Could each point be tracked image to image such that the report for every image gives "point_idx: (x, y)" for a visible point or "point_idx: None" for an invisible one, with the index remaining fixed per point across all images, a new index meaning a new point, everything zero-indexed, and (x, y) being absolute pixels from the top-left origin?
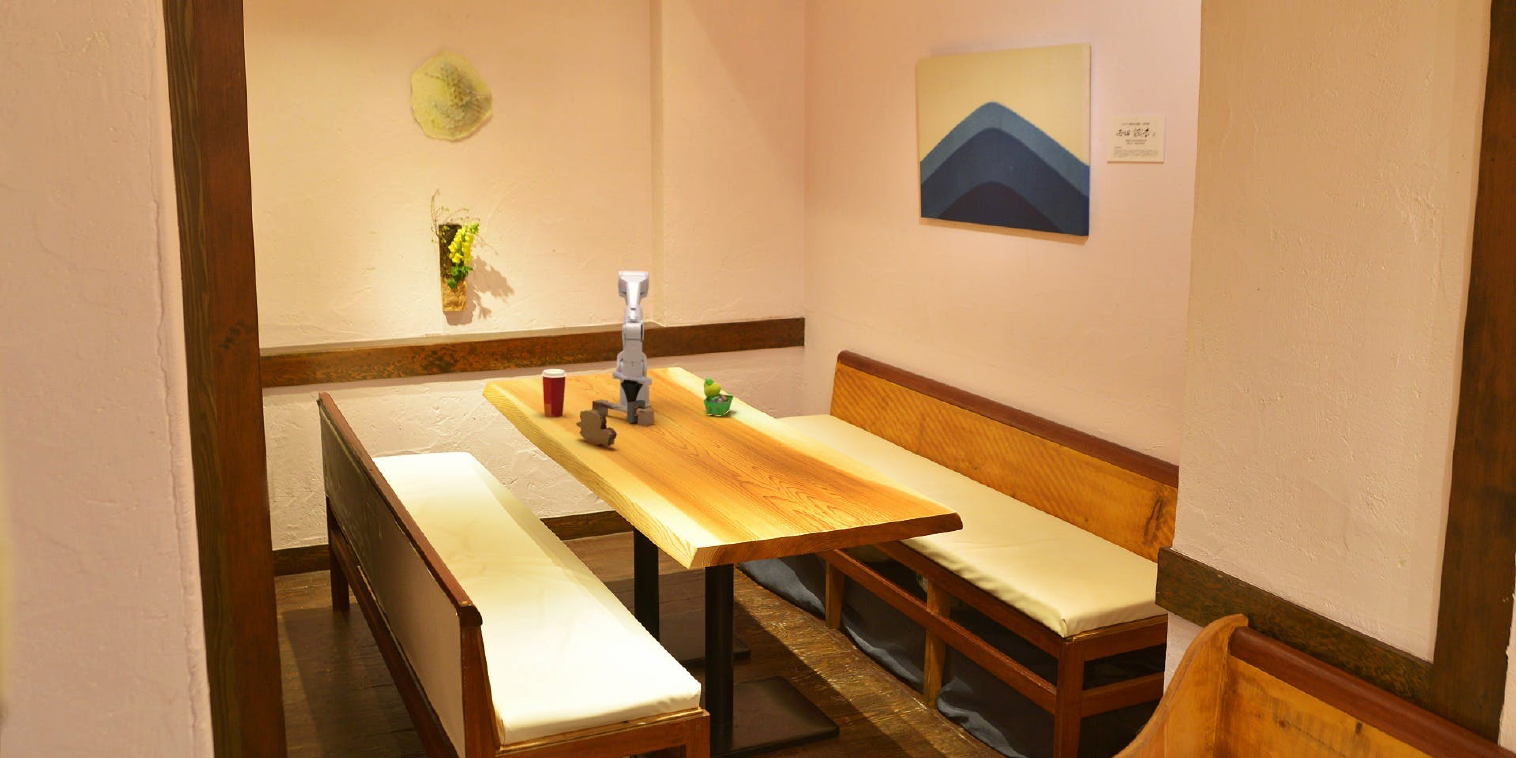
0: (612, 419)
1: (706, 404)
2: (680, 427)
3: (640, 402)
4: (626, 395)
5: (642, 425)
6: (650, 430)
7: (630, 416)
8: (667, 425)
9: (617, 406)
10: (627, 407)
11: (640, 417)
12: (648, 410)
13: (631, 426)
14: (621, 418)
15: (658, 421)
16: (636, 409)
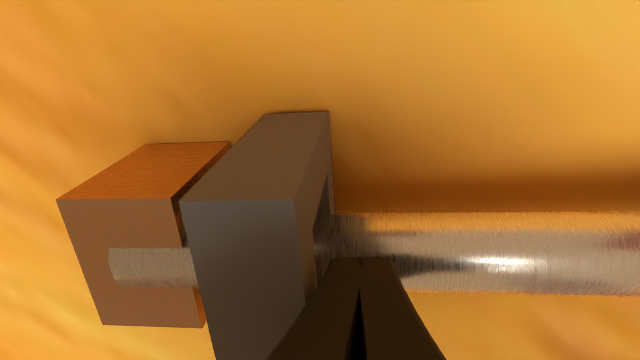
0: (556, 123)
1: None
2: (9, 294)
3: (219, 354)
4: (409, 354)
5: (174, 143)
6: (3, 71)
7: (271, 130)
8: None
9: (588, 232)
10: (304, 165)
11: (167, 170)
12: (131, 292)
13: (212, 49)
14: None
15: None
16: None
